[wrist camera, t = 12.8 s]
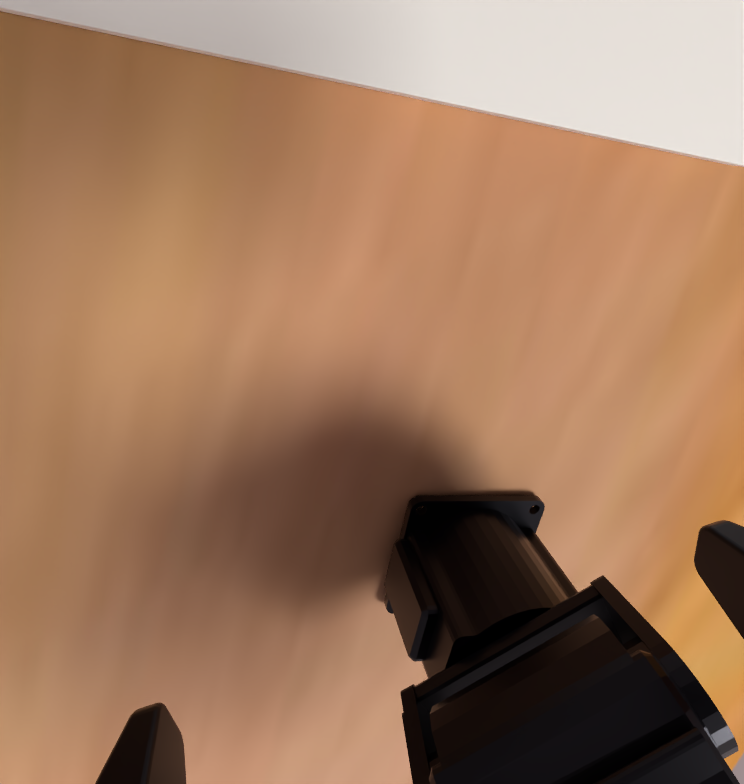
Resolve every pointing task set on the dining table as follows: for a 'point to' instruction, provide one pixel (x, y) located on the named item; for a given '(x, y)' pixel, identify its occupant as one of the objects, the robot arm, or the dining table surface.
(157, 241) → the dining table surface
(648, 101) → the board
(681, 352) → the dining table surface
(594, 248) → the dining table surface
